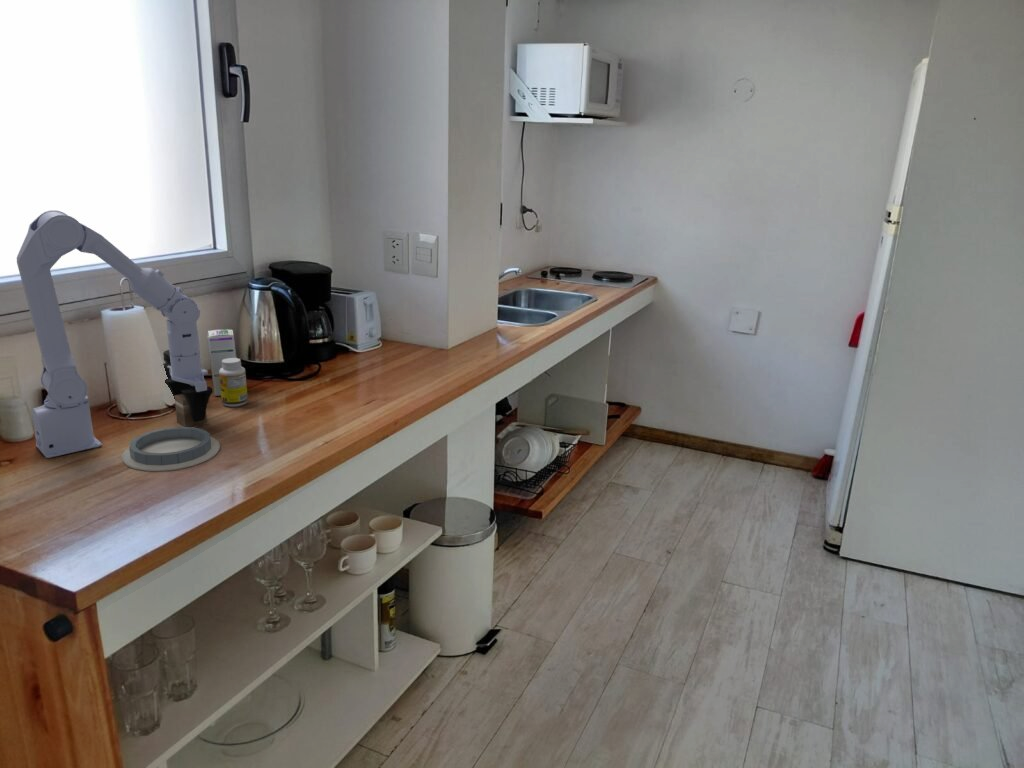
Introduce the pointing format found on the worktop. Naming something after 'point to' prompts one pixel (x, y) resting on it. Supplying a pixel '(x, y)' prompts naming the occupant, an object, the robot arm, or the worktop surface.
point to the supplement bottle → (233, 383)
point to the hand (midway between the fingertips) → (191, 415)
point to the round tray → (170, 449)
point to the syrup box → (220, 353)
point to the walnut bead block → (185, 413)
